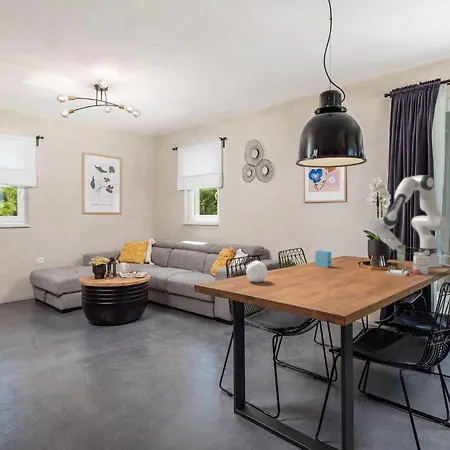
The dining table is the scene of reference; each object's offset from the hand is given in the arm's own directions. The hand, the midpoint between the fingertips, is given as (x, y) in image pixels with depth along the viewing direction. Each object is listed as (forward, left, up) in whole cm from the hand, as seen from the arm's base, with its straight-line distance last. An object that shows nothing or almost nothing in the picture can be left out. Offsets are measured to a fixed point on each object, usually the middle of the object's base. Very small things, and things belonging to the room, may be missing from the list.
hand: (402, 251), depth 264 cm
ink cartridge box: (+2, +12, -14) cm, 19 cm away
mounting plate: (+12, -1, -14) cm, 19 cm away
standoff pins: (+12, -1, -12) cm, 17 cm away
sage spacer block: (0, -1, -7) cm, 7 cm away
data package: (+12, -54, -14) cm, 57 cm away
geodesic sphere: (+91, -67, -14) cm, 114 cm away
